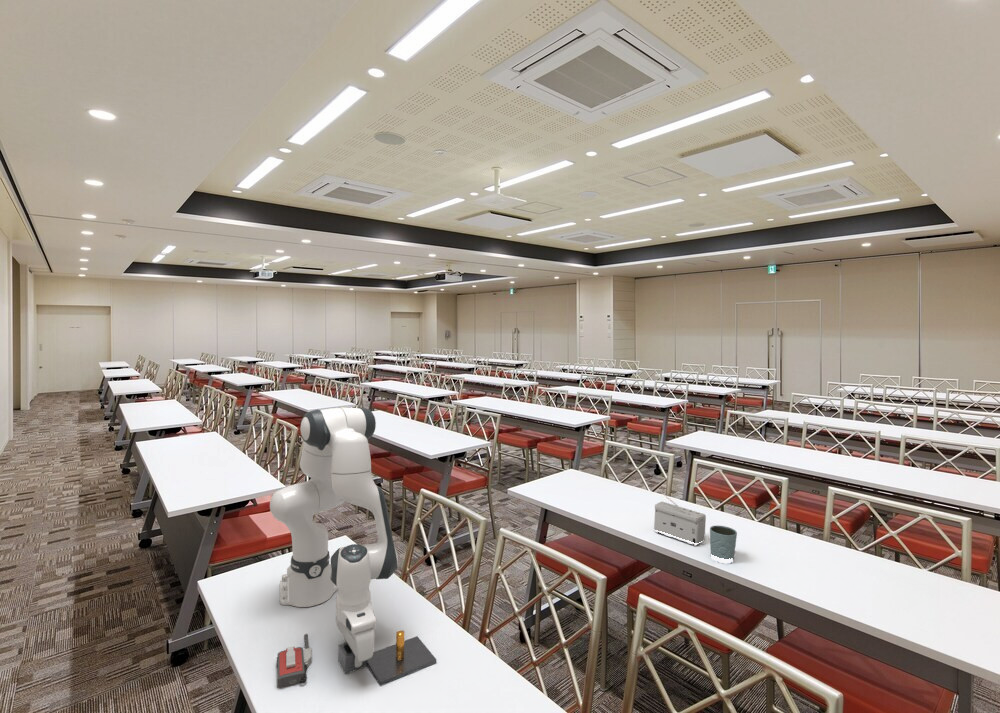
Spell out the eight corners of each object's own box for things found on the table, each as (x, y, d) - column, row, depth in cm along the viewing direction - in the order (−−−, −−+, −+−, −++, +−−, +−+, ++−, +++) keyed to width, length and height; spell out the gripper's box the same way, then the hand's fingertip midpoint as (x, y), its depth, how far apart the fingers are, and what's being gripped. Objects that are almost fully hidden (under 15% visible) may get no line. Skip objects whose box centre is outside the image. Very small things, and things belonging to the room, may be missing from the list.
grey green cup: (722, 566, 196) (724, 536, 195) (702, 555, 205) (704, 527, 204) (741, 562, 200) (742, 533, 199) (720, 551, 209) (722, 523, 208)
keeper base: (363, 659, 136) (363, 631, 136) (417, 639, 146) (417, 612, 145) (380, 686, 127) (380, 655, 126) (436, 662, 136) (436, 634, 135)
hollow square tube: (338, 660, 135) (338, 645, 135) (359, 653, 139) (360, 637, 139) (345, 674, 131) (345, 657, 130) (367, 665, 134) (367, 649, 134)
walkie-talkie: (314, 684, 127) (309, 638, 145) (314, 668, 127) (309, 623, 145) (276, 694, 123) (276, 645, 142) (276, 677, 123) (276, 630, 141)
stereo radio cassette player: (705, 543, 217) (707, 498, 215) (696, 548, 211) (699, 502, 210) (660, 528, 232) (662, 485, 230) (651, 532, 226) (653, 489, 225)
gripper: (330, 593, 140) (329, 640, 141) (354, 631, 124) (354, 684, 125) (352, 587, 144) (351, 633, 145) (378, 623, 127) (378, 675, 128)
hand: (353, 657), depth 135 cm, fingers closed on hollow square tube, 6 cm apart
